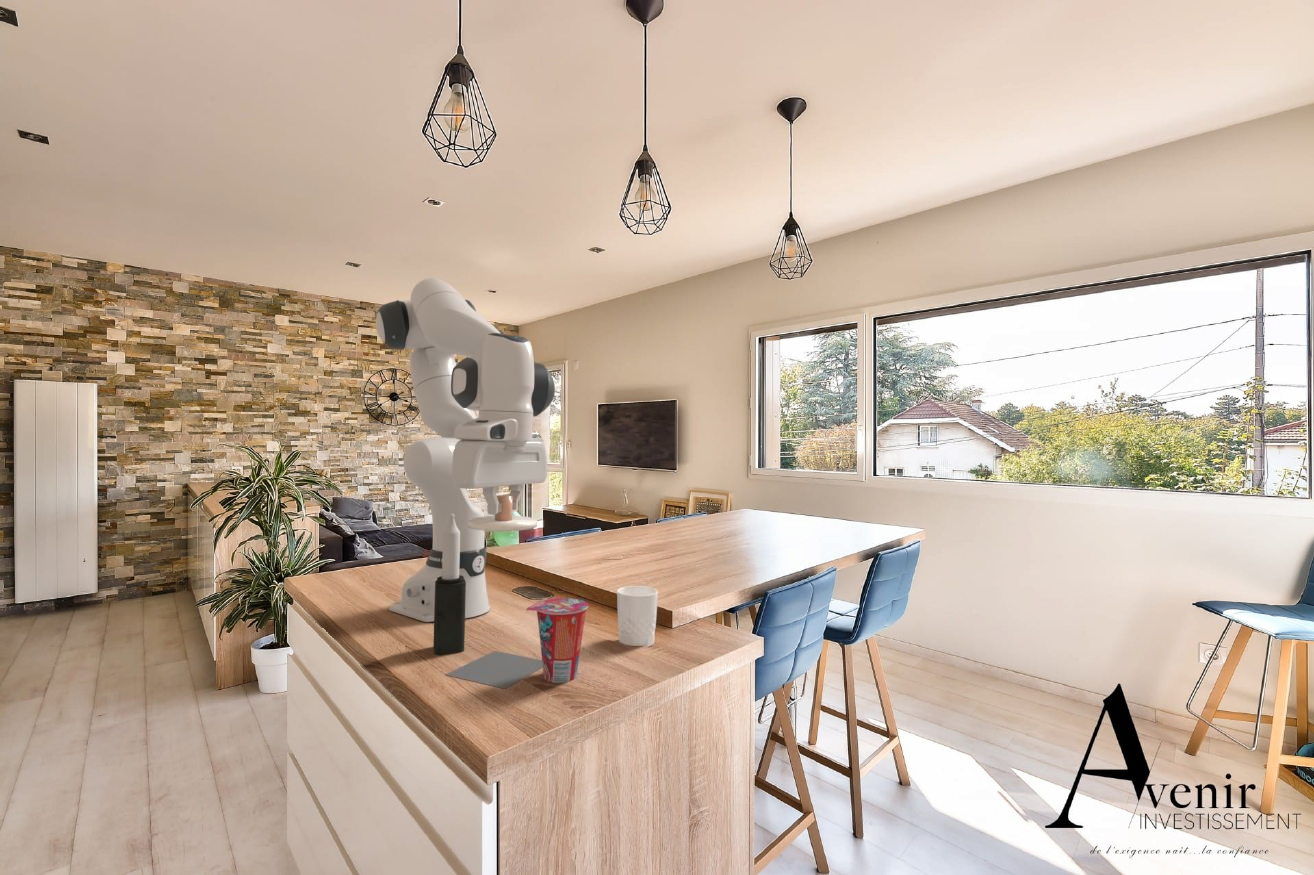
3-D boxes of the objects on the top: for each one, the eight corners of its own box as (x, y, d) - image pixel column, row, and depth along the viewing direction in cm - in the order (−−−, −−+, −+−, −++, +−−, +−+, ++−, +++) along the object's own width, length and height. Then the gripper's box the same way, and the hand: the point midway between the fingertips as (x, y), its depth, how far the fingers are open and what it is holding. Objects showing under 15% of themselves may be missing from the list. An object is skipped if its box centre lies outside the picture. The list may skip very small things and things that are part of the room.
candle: (433, 649, 104) (436, 512, 104) (462, 645, 106) (465, 511, 106) (434, 658, 99) (437, 515, 100) (464, 655, 101) (468, 514, 102)
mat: (445, 678, 91) (445, 674, 91) (495, 654, 102) (495, 650, 102) (505, 692, 86) (505, 688, 86) (550, 665, 97) (550, 662, 97)
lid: (453, 527, 92) (454, 496, 92) (498, 519, 102) (499, 491, 102) (508, 533, 87) (509, 501, 87) (549, 524, 97) (550, 495, 97)
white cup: (652, 651, 105) (653, 597, 105) (611, 648, 106) (612, 594, 107) (660, 637, 112) (661, 587, 113) (622, 634, 114) (623, 584, 114)
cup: (562, 665, 97) (564, 595, 98) (597, 678, 92) (598, 604, 92) (517, 681, 90) (519, 606, 90) (552, 697, 85) (554, 616, 85)
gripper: (528, 431, 106) (526, 505, 105) (446, 427, 87) (443, 517, 87) (557, 432, 103) (554, 508, 103) (478, 428, 84) (475, 521, 84)
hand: (502, 512), depth 95 cm, fingers closed on lid, 3 cm apart
